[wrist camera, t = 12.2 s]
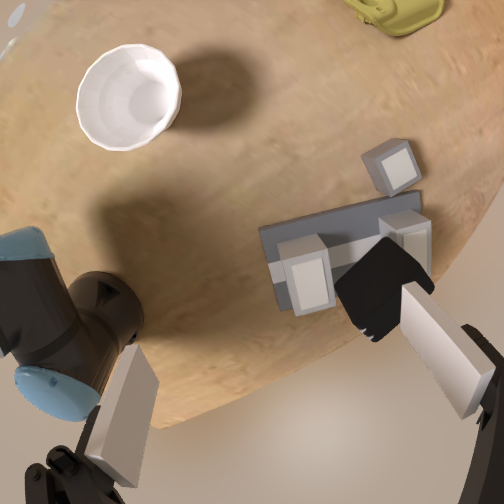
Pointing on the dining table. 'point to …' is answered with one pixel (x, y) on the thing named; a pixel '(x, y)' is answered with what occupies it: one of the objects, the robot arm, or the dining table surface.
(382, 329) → the electronic device
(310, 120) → the dining table surface
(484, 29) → the dining table surface
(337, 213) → the board
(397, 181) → the module
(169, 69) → the cup
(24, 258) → the robot arm
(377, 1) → the plastic component
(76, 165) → the dining table surface
